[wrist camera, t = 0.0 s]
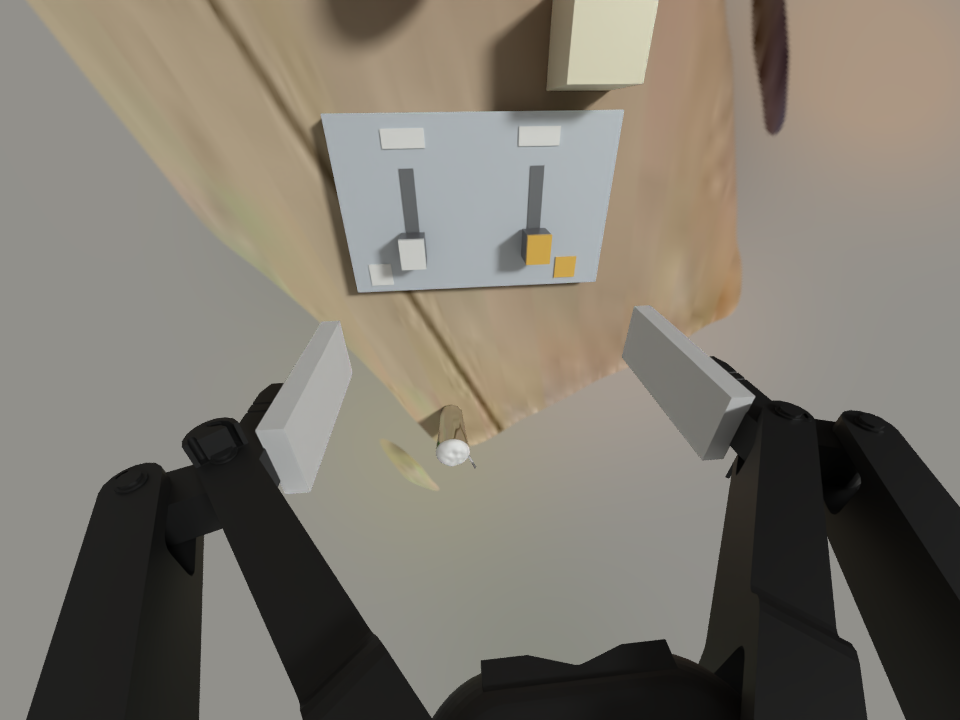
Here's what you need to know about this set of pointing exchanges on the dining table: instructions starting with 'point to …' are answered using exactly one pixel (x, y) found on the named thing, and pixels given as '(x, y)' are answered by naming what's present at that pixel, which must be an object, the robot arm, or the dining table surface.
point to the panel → (473, 193)
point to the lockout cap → (599, 44)
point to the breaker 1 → (413, 251)
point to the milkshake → (452, 437)
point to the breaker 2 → (536, 246)
